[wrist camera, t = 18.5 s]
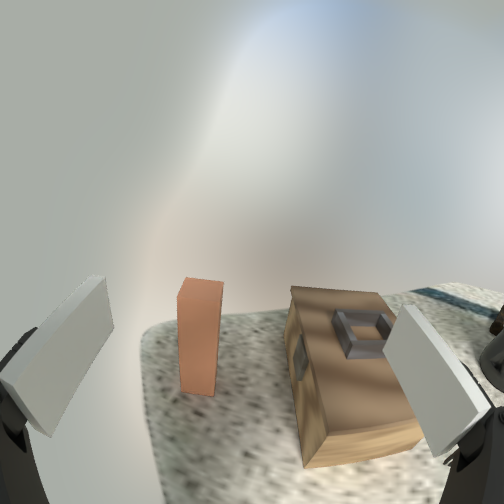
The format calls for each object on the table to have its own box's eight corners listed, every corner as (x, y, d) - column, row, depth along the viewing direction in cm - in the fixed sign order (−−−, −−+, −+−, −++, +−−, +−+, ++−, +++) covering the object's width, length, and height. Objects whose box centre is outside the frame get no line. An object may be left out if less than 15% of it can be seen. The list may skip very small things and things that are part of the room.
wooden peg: (186, 369, 33) (185, 277, 28) (216, 374, 33) (223, 281, 28) (181, 391, 29) (177, 296, 24) (213, 396, 29) (220, 302, 24)
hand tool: (498, 339, 42) (506, 323, 40) (487, 332, 45) (495, 316, 44) (507, 319, 51) (513, 306, 49) (498, 313, 54) (504, 300, 52)
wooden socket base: (279, 333, 43) (292, 273, 39) (360, 336, 44) (381, 281, 40) (298, 472, 20) (336, 418, 16) (414, 450, 21) (466, 392, 17)
